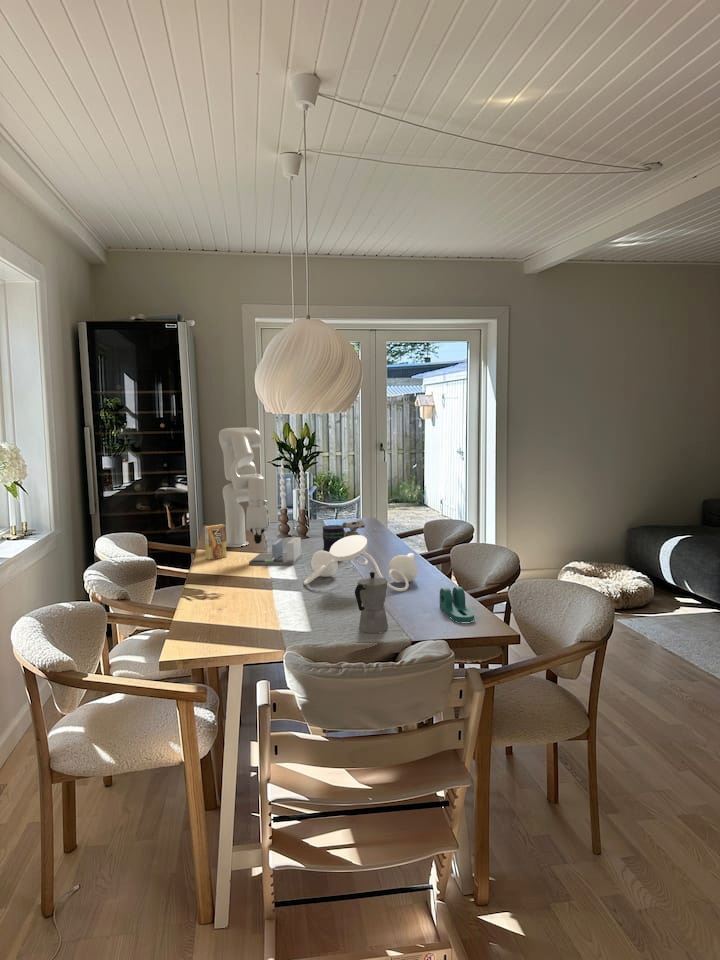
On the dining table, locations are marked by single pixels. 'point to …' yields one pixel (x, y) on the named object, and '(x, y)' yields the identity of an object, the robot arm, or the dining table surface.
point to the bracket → (455, 604)
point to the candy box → (215, 541)
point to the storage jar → (332, 535)
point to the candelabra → (353, 547)
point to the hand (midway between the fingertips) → (258, 543)
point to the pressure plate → (277, 549)
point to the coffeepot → (372, 604)
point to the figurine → (353, 527)
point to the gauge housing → (285, 558)
